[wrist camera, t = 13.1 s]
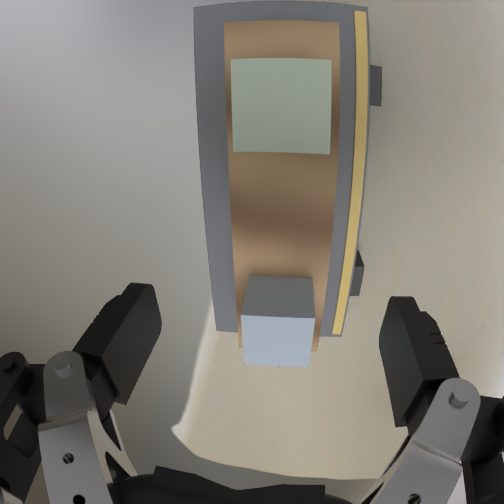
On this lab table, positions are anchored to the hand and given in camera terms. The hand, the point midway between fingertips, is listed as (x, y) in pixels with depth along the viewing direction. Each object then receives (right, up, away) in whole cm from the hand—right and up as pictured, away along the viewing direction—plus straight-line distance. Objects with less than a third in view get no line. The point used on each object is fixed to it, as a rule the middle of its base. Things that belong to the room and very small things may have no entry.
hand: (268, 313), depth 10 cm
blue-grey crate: (+1, -1, +11) cm, 11 cm away
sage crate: (+1, +10, +5) cm, 11 cm away
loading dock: (+2, +8, +16) cm, 18 cm away
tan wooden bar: (+2, +7, +12) cm, 14 cm away
